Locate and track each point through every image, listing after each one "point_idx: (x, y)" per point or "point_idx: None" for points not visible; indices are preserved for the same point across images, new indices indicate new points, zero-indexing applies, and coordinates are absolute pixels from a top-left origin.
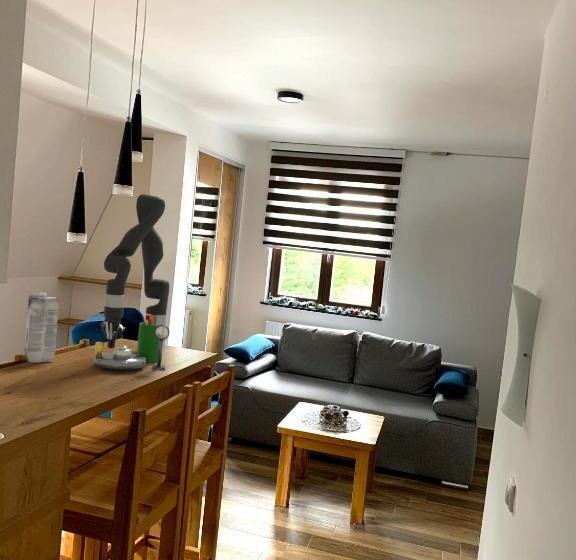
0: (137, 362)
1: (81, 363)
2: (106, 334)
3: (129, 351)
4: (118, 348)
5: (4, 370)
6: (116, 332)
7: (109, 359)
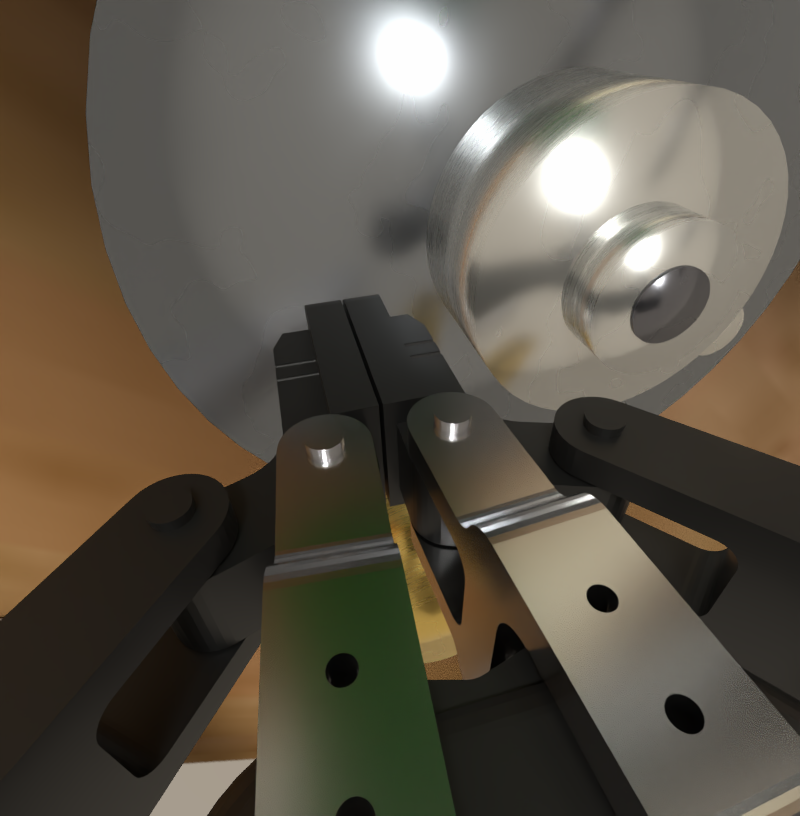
0: None
1: (130, 450)
2: (261, 621)
3: (766, 238)
4: (543, 314)
5: (215, 761)
6: (737, 648)
7: (519, 410)
